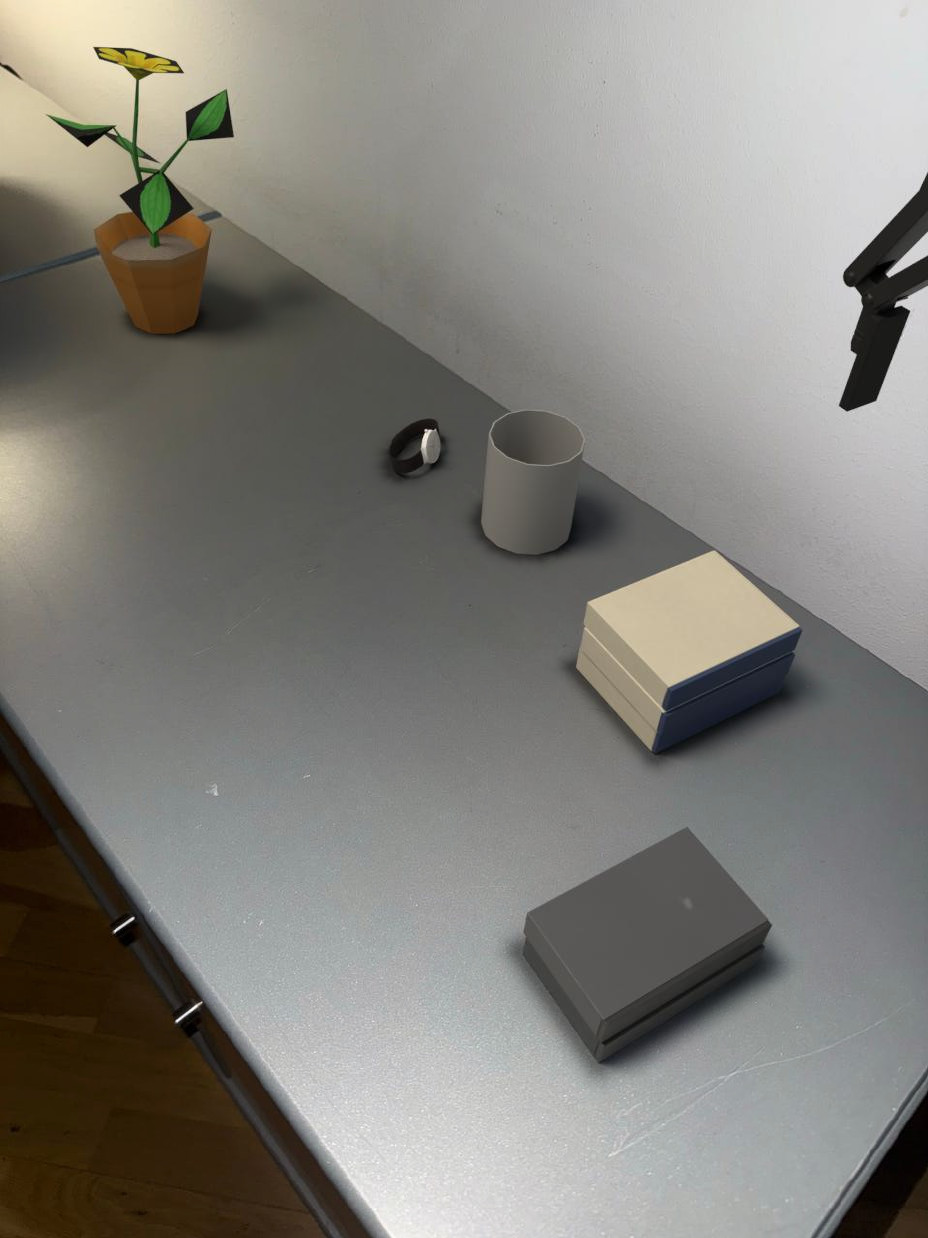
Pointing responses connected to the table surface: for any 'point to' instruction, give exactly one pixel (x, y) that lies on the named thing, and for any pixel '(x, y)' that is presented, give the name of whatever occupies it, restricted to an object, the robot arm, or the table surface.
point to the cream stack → (683, 719)
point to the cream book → (691, 628)
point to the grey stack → (643, 941)
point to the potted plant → (156, 213)
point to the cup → (531, 481)
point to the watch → (428, 447)
